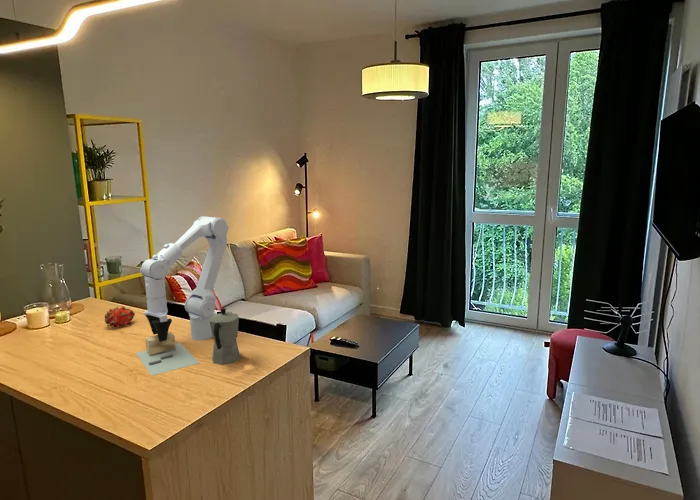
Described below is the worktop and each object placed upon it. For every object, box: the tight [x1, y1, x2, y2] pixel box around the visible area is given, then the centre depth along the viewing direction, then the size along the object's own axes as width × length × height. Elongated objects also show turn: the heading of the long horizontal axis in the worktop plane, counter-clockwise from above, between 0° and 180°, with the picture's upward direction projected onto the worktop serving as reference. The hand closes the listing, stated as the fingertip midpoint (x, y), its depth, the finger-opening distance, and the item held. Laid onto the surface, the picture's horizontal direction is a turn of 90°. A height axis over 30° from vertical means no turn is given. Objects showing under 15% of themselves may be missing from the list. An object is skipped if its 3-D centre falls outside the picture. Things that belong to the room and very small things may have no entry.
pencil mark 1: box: [149, 360, 162, 365], centre depth 139 cm, size 4×1×1 cm, turn 127°
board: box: [135, 342, 200, 377], centre depth 143 cm, size 14×20×2 cm
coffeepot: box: [209, 307, 241, 366], centre depth 139 cm, size 15×9×18 cm, turn 0°
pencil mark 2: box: [161, 355, 173, 360], centre depth 143 cm, size 4×1×1 cm, turn 127°
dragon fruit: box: [104, 306, 136, 329], centre depth 175 cm, size 8×8×12 cm
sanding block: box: [145, 331, 176, 356], centre depth 147 cm, size 8×4×5 cm, turn 127°
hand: (159, 337), depth 147 cm, fingers open, 7 cm apart
